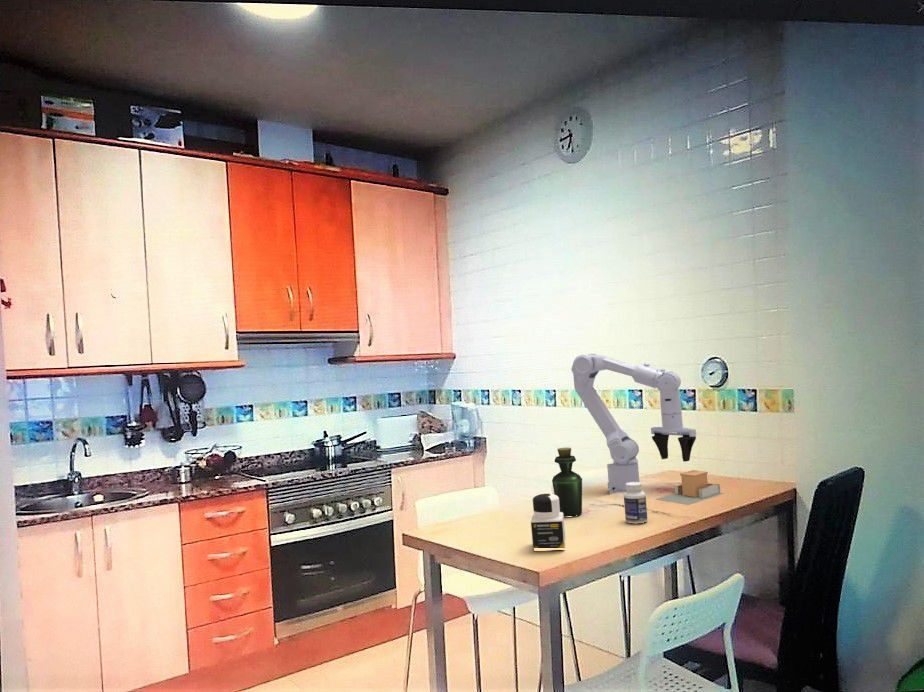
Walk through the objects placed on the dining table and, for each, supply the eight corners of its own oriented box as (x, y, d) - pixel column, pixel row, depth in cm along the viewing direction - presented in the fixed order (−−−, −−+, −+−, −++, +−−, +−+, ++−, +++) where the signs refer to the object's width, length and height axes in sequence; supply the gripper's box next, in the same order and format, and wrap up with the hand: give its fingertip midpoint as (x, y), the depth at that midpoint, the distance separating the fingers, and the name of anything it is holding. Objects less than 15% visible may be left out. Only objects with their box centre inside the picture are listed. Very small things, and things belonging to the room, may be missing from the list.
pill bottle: (642, 525, 167) (639, 486, 167) (622, 523, 170) (619, 485, 170) (651, 520, 171) (647, 481, 171) (631, 518, 174) (627, 480, 174)
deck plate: (688, 509, 178) (688, 504, 178) (655, 503, 187) (655, 499, 187) (724, 497, 187) (724, 493, 187) (691, 492, 196) (691, 488, 196)
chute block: (696, 497, 185) (694, 475, 185) (681, 494, 189) (679, 473, 189) (709, 493, 188) (707, 471, 188) (695, 490, 192) (693, 470, 192)
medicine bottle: (533, 552, 153) (528, 499, 153) (535, 543, 160) (531, 492, 160) (564, 551, 151) (560, 498, 151) (565, 542, 158) (561, 491, 158)
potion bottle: (555, 511, 188) (550, 447, 188) (585, 510, 187) (579, 445, 187) (554, 518, 180) (548, 451, 180) (585, 517, 179) (579, 450, 179)
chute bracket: (702, 498, 183) (701, 489, 183) (675, 494, 191) (674, 485, 191) (720, 493, 188) (719, 484, 188) (693, 489, 195) (692, 480, 195)
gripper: (642, 414, 200) (646, 459, 200) (683, 415, 188) (687, 464, 188) (658, 411, 204) (662, 456, 204) (699, 412, 192) (703, 460, 192)
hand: (675, 459), depth 196 cm, fingers open, 7 cm apart
